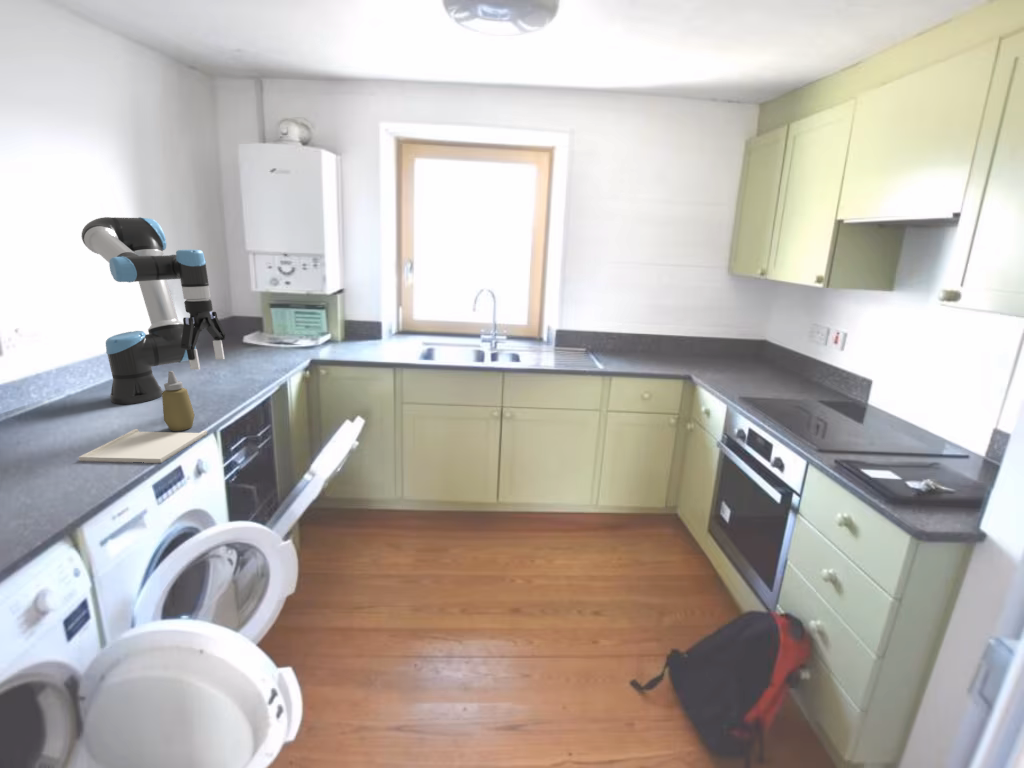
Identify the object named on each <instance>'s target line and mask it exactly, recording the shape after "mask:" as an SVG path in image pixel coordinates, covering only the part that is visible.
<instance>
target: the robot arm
mask: <svg viewBox="0 0 1024 768" xmlns="http://www.w3.org/2000/svg"><path fill="white" fill-rule="evenodd" d="M81 240H82V242H83V244H84V246H85V247H87V249H88V250H89V251H91V252H92V253H94V254H97V255H100V256H101V257H102V258H103V259H104V260H105V261H107V262H108V265H109V266H108V267H109V270H110V274H111V276H112V277H113V280H114V281H116V282H117V283H134V282H136V283H137V282H138V284H139V287H140V291H141V294H142V297H143V301H144V304H145V307H146V311H147V314H148V318H149V321H150V327H149V328H148V329H147V330H148V331H147V332H148V334H147V333H145V332H144V331H143V330H135V331H128V332H122V333H118V334H114V335H112V336H110V337H108V338H107V340H106V341H105V348H106V352H105V353H106V354H107V357H108V358H107V359H108V362H109V368H110V372H111V376H112V383H111V392H110V400H111V403H112V404H118V405H129V404H130V405H133V404H139V403H144V402H148V401H149V402H150V401H153V400H156V399H159V398H161V397H162V392H163V389H162V387H161V386H160V385H159V383H158V380H157V379H156V377H155V376H154V375H153V369H152V368H153V367H157V366H163V365H169V364H176V363H182V362H188V361H189V369H190V370H194V371H195V370H201V365H200V360H199V359H200V358H199V353H198V349H197V347H196V346H197V342H198V339H199V336H200V332H202V331H203V330H204V329H205V330H206V331H207V332H208V333H209V334H210V336H211V338H213V339H214V340H212V345H213V346H212V347H213V351H214V358H215V360H225V352H224V347H223V346H224V345H223V341H225V339H226V332H225V330H224V328H223V326H222V324H221V322H220V320H219V317H218V314H217V312H216V311H213V310H214V308H213V302H212V300H211V297H212V295H211V289H210V284H209V278H208V277H209V276H208V272H207V261H206V259H205V253H204V252H203V250H201V249H178V250H177V249H176V252H175V254H170V255H164V251H165V250H166V249H167V241H166V234H165V232H164V230H163V228H162V226H161V225H160V223H159V222H158V221H156V219H153V218H150V217H149V218H148V217H146V218H145V217H141V216H139V217H110V216H109V217H108V216H105V217H99V218H96V219H92V220H91V221H90V222H88V223H87V224H86V225H84V227H83V229H82V231H81ZM168 280H180V285H181V290H182V296H183V299H184V300H185V301H184V303H183V304H184V308H185V309H184V310H185V312H186V313H189V317H183V319H182V322H181V321H180V320H179V318H178V314H177V312H176V307H175V304H174V301H173V298H172V295H171V294H172V293H171V291H170V288H169V284H168Z"/></svg>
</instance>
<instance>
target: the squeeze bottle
mask: <svg viewBox="0 0 1024 768" xmlns="http://www.w3.org/2000/svg"><path fill="white" fill-rule="evenodd" d="M163 387H164V390H162V396H161V400H162V408H163V409H162V414H163V421H164V423H165V424H166V425H167V427H168V429H169V431H170V432H181V431H186V430H189V429H191V428H192V427H193V425H194V420H195V411H194V409H193V408H194V407H193V405H192V402H191V398H190V395H189V392H188V389H186V388H185V387H184V385H183V381H181V380H180V381H179V380H178V378H177V377H176V374H175V372H174V370H170V371H168V376H167V382H165V383H164V384H163Z"/></svg>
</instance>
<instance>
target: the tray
mask: <svg viewBox="0 0 1024 768" xmlns="http://www.w3.org/2000/svg"><path fill="white" fill-rule="evenodd" d="M207 435H208V431H207V430H202V431H200V432H179V431H168V432H165V431H164V432H162V431H139V429H137V428H134V429H132V430H130V431H127V432H126V433H124V434H122V435H120V436H118V437H117V438H114V439H112V440H109V441H108V442H106V443H103V444H102V445H100V446H98V447H96V448H94V449H92V450H90V451H88V452H85V453H84V454H81V455H80V456H78V459H79V462H96V463H97V462H98V463H100V462H101V463H133V462H142V464H143V462H144V463H145V464H162V463H164V462H166V461H167V460H169V459H171V458H172V457H173V456H175V455H177V454H178V453H181V452H182V451H183V450H185V449H187V448H188V447H189V446H191V445H193V444H195V443H197V442H198V441H199V440H201V439H203V438H205V437H206V436H207Z"/></svg>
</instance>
